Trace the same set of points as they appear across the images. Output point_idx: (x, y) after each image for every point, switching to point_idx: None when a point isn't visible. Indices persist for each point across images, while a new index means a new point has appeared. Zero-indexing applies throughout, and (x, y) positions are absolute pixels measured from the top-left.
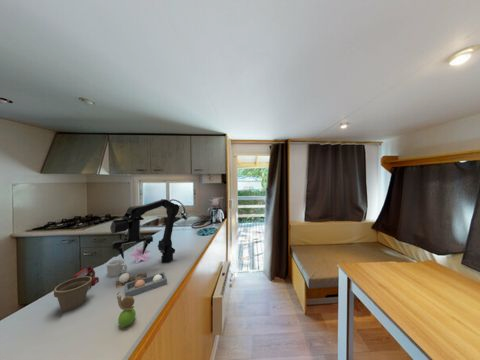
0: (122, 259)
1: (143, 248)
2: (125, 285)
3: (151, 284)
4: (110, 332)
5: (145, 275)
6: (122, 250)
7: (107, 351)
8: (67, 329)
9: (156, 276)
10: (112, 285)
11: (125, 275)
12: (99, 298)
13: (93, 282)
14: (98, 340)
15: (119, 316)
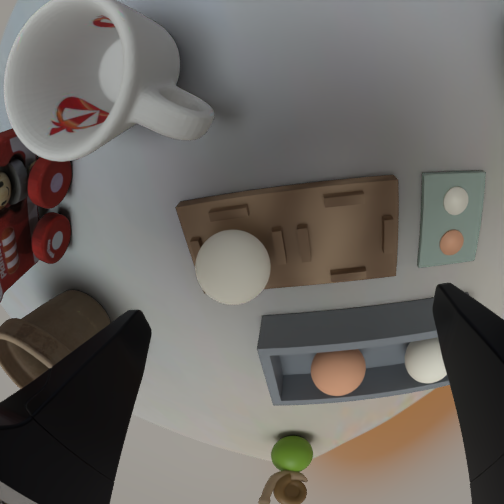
0: (110, 17)
1: (471, 432)
2: (262, 363)
3: (388, 394)
4: (258, 439)
5: (388, 245)
6: (108, 495)
7: (264, 457)
8: (145, 394)
9: (427, 382)
10: (166, 219)
11: (239, 302)
12: (154, 312)
13: (51, 207)
14: (239, 441)
15: (273, 463)
